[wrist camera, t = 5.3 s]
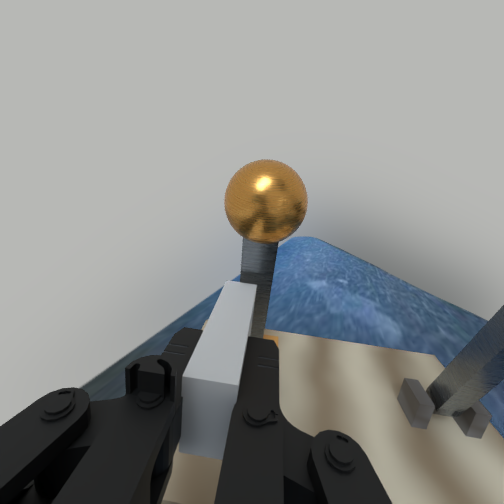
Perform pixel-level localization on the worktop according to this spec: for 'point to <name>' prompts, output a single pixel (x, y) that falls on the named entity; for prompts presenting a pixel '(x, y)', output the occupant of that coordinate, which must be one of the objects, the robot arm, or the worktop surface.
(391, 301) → the worktop surface
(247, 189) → the orange knob lever
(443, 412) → the black knob lever
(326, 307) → the worktop surface
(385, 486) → the switch board
